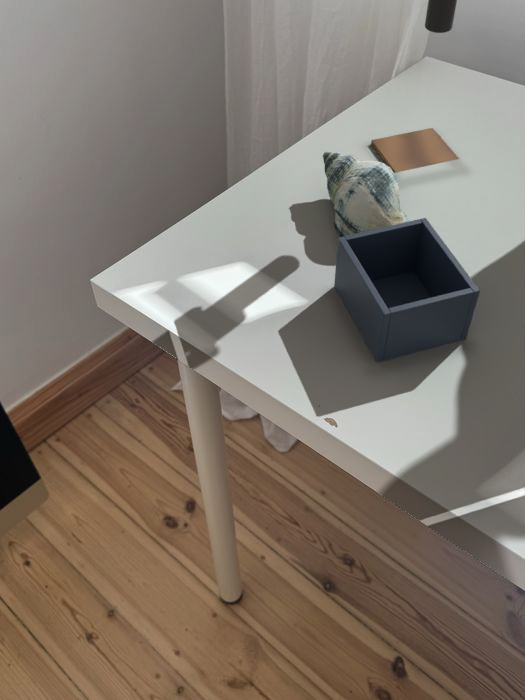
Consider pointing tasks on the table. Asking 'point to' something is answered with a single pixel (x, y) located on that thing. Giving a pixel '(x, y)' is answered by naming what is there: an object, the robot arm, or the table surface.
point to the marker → (440, 15)
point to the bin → (404, 289)
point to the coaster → (413, 150)
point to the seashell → (362, 194)
